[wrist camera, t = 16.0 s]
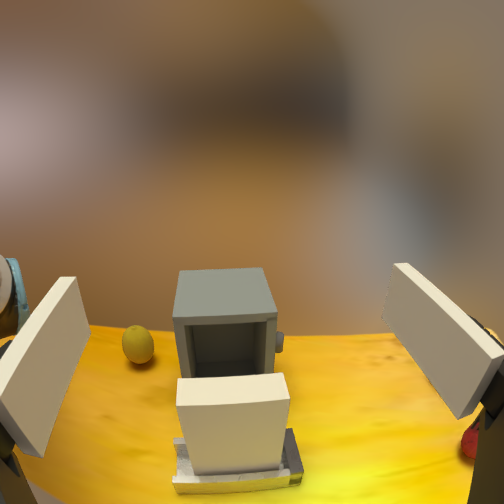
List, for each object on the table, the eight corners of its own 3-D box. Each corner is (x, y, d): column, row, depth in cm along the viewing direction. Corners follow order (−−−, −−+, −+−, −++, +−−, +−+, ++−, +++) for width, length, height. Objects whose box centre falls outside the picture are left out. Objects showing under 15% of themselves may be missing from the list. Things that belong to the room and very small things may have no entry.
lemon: (161, 366, 52) (154, 330, 49) (132, 376, 49) (122, 340, 46) (151, 349, 56) (144, 313, 53) (123, 357, 53) (114, 322, 50)
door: (196, 482, 31) (175, 405, 25) (196, 457, 35) (178, 375, 29) (277, 476, 32) (290, 398, 26) (272, 452, 36) (281, 369, 30)
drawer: (177, 493, 30) (171, 480, 28) (177, 451, 36) (173, 435, 34) (299, 484, 31) (304, 471, 30) (289, 443, 38) (291, 428, 36)
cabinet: (189, 416, 42) (172, 317, 35) (190, 363, 53) (179, 270, 46) (277, 410, 44) (287, 311, 37) (265, 359, 55) (269, 267, 48)
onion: (448, 462, 30) (474, 429, 27) (457, 435, 35) (480, 400, 32) (480, 472, 27) (508, 440, 24) (486, 444, 31) (512, 410, 28)
